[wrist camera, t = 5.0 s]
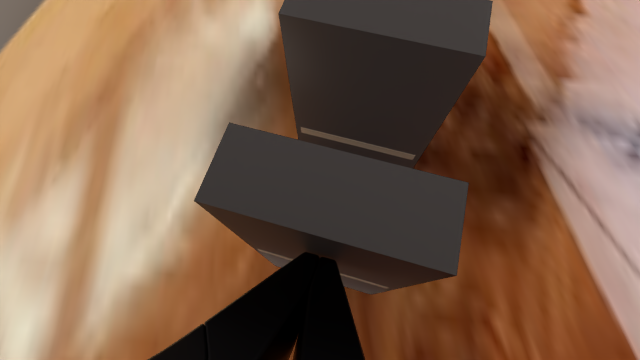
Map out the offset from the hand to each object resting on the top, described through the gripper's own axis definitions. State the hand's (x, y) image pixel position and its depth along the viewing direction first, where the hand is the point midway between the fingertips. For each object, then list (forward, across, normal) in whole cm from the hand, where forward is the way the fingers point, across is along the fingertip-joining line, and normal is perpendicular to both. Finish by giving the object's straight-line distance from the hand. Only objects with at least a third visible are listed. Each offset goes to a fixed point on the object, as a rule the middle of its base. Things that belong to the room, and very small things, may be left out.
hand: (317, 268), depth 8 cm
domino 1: (+10, 0, +2) cm, 10 cm away
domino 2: (+7, 0, +5) cm, 8 cm away
